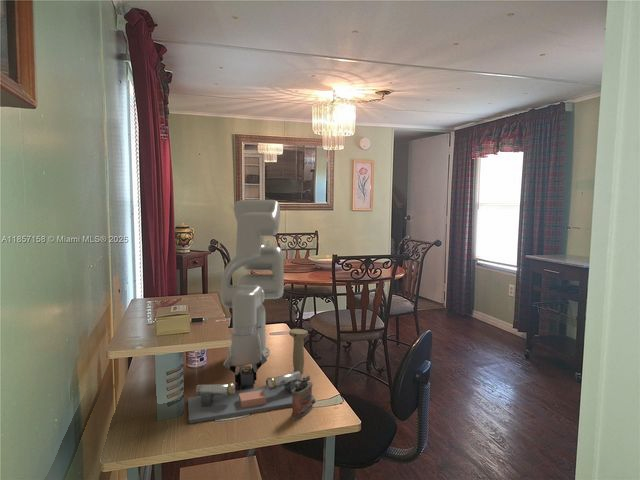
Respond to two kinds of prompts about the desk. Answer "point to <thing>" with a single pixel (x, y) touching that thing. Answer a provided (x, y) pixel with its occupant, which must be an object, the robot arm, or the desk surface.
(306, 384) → the lighter
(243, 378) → the block
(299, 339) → the handle
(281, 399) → the base plate
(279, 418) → the desk surface
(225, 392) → the shaft
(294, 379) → the shaft
